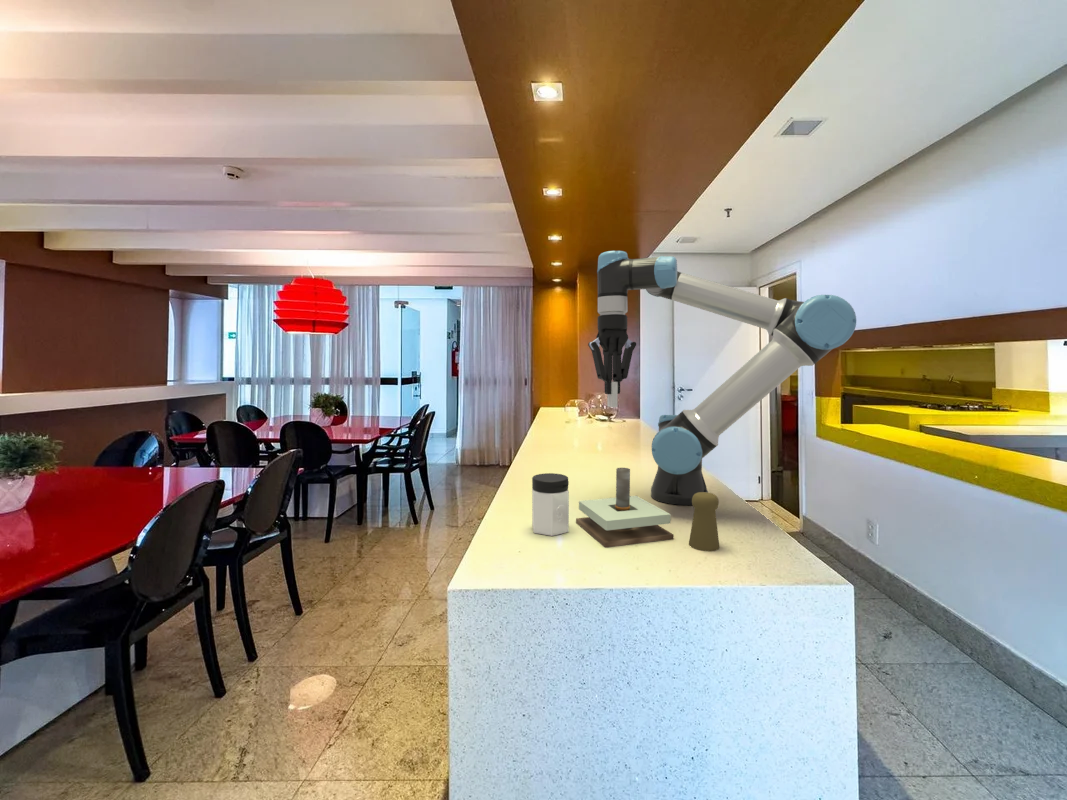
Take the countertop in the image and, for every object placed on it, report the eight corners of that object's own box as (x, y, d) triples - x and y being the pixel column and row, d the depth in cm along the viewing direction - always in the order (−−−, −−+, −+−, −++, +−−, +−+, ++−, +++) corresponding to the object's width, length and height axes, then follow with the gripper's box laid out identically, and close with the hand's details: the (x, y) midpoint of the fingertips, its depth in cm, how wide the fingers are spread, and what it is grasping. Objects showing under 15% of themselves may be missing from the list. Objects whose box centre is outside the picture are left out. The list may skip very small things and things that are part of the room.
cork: (682, 542, 103) (683, 491, 103) (704, 538, 106) (706, 488, 105) (702, 553, 98) (704, 498, 97) (726, 548, 100) (727, 495, 99)
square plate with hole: (636, 503, 120) (636, 495, 120) (670, 523, 106) (670, 514, 105) (578, 509, 116) (578, 500, 115) (606, 530, 101) (606, 520, 101)
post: (636, 516, 121) (637, 459, 120) (673, 539, 105) (674, 474, 104) (575, 522, 116) (576, 464, 115) (605, 547, 101) (605, 480, 100)
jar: (544, 538, 106) (544, 483, 105) (523, 528, 113) (523, 476, 112) (577, 530, 111) (577, 478, 110) (555, 520, 117) (555, 471, 116)
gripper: (627, 316, 131) (627, 404, 133) (582, 315, 127) (583, 406, 129) (642, 313, 124) (642, 406, 126) (596, 312, 120) (596, 409, 122)
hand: (612, 406), depth 127 cm, fingers closed
